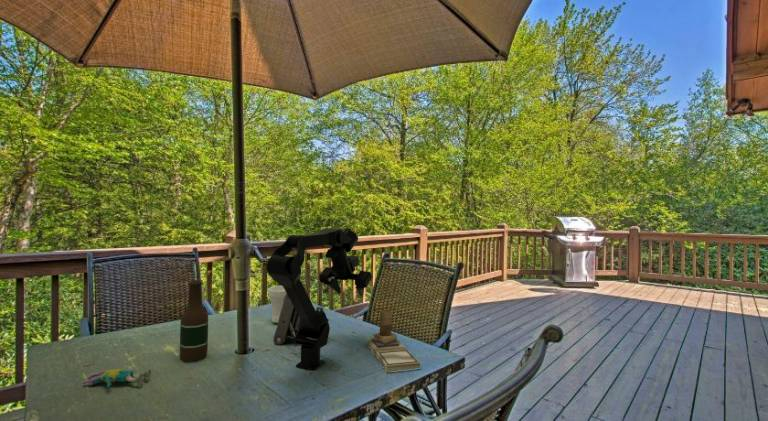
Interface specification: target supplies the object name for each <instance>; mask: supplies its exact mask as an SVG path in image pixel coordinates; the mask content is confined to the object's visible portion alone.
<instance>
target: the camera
mask: <svg viewBox="0 0 768 421" xmlns="http://www.w3.org/2000/svg"><path fill="white" fill-rule="evenodd" d="M315 310H316V311H322V312H324V313H325V311H324V308H323V307H320V306H316V308H315ZM300 320H301V319H300V317H299V315H298V313H297V311H296V310H295V308H294V306H293V304H292V302H291V300H290V299H289V297H288V295H287V293H286V295H285V297H284V300H283V306H282V309H281V313H280V317H279V320H278V323H276V329H275V331H274V335H273V340H272V341H273V343H274V345H276V346H282V345H283V344H284V343H285V341H286V340H287V339H288V338H289V339H293V340H294V338H295V336H296V334H297V332H298V330H299V328H300V327H299V323H300ZM306 338H308V339H313V340H317V339H315V338H310V337H306Z"/></svg>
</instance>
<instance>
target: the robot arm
mask: <svg viewBox="0 0 768 421" xmlns="http://www.w3.org/2000/svg"><path fill="white" fill-rule="evenodd" d="M358 241H359V236H358V235H357V234H356V232H354V231H352V229H351V228H349V227H347V228H344V230H343V229H342V228H341V229H340V228H327V227H325V228H322V229H320V230H318V232H314V233H305V234H291V235H289V236H288V237H287V238H286V240H285V241H284V242H283V243H282V244H281V245H280V246H278V247H277V248H275V250H274V251H273V252H272V253H271V256H270V257H269V259H268V261H267V263H266V268H265V269H266V272H267V274H268V275H269V277H270V278H271V279H272V280H273V281H274V282H276V283H277V284H279V286H283V287H284V289H285V291H286V293H287V295H288V297H289V299H290V300H291V302H292V304H293V306H294V308H295V310H296V311H297V313H298V315H299V317H300V319H301V320H300V323H299V327H300V328H299V330H298V332H297V334H296V336H295V338H294V339H293V342H294V344H295V345H296V346H297V345H298V346H300V362H298V363H297V364H296V365H295V368H300V369H305V370H311V371H315V370H318V369H319V367H321V366H322V365H323V364H324V363H326V362H325V361H326V360H324V359H321V348H323V347H324V346H327V344H328V341H329V340H328V339H329V335H330V323H329V319H328V317H327V314H326V313H325V311H324V312H322V311H320V310H319V311H316V308H315V306H314V305H313V303H312V301H311V298H310V297H309V295H308V293H307V291H306V289H305V286H304V285H303V283H302V281H301V276H302V273H303V272H302V271H303V270H302V266H303V264H304V262H305V260H306V259H305V251H306V249H310V248H315V247H316V248H317V247H321V246H326V247H327V246H328V247H330V248H329V249H327V251H326V252H325V256H324V257H325V258H329V259H330V262H331V265H332V266H330V267H329V266H326V267H324V268H323V270H322V271H321V272H320V274H319V276H318V280H319V281H320V284H321V283H322V284H323V285H326V286H327V287H329V288H330V289H332V290H333V291H334V292H335V293H337V294H338V295H341V293H342V291H341V287H340V284H339V281H348V280H350V281H354V286H355V289H356V291H357V293H358V295H359V296H360V298H363V296H364V292H365V289H366V288H367V287H368V286H369V284H370V282H371V281H372V278H373V274H372V271H368V270H367V271H366V270H360V271H359V272H358V273H353V272H355V271H356V268H357V267H358V266H360V258H359V257H360V256H358V255H348V254H347V253H350V252H351V251H352V250H353V248H354V247H355V246H356V244H357V242H358ZM292 250H296V251H297V252H296V254H295V256H289V255H288V254H289V253H290V252H292ZM338 280H339V281H338ZM306 337H310V338H315V339H317V340H313V339H308V338H306Z"/></svg>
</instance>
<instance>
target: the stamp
mask: <svg viewBox="0 0 768 421" xmlns="http://www.w3.org/2000/svg"><path fill="white" fill-rule="evenodd" d="M392 315H393V313H392V311H391V310H387V309H384V310H383V309H382V310H380V311H379V332H377V333H373V338H374V341H376V342H379V343H381V344H384V345H387V344H390V343H393V342H396V341H397V340H398V339H397V338H398V334H396V333H394V332H392V322H393V321H392V317H393V316H392Z"/></svg>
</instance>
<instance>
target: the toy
mask: <svg viewBox="0 0 768 421" xmlns="http://www.w3.org/2000/svg"><path fill="white" fill-rule="evenodd" d="M151 376H152V371H151V369H147V370H145V371H144V372H141V373H138V374H135V372H134V371H133V369H132V370H123V369H120V368H119V369H118V368H116V369H109V370H101V371H97V372H94V373H93V372H92V373H91V374H90V375H89V376H88V377H87V379H86V380H84V381H83V382H82V383H81V384H82V385H86V384H87V385H88V387H91V386H93V385H96V384H99V383H102V382H104V381H106V382H105V383H106V388H107V389H108V388H109V387H111V386H112V384H113V383H115V382H126V381H128V382H131V383H135V382H136V384H137V385H136V386H137V387H138V389H143V387H144V383H149V382H151Z"/></svg>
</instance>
